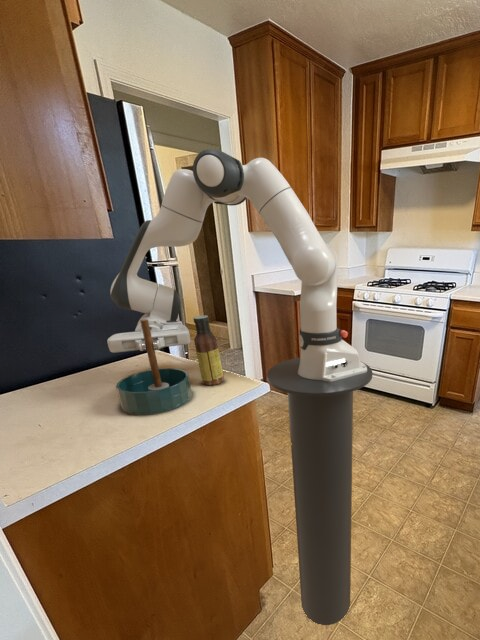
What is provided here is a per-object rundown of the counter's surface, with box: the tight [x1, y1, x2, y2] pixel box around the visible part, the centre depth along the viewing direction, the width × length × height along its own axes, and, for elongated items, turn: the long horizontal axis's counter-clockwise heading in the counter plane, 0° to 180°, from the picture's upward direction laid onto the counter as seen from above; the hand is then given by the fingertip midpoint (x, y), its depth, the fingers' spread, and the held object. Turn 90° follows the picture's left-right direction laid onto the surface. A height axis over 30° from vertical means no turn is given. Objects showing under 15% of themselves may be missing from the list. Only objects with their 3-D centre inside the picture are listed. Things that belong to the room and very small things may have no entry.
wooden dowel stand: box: [139, 319, 169, 391], centre depth 92 cm, size 5×5×19 cm
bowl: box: [115, 367, 193, 416], centre depth 94 cm, size 17×17×6 cm
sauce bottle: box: [192, 315, 225, 386], centre depth 102 cm, size 7×6×20 cm
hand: (149, 347), depth 90 cm, fingers closed on wooden dowel stand
